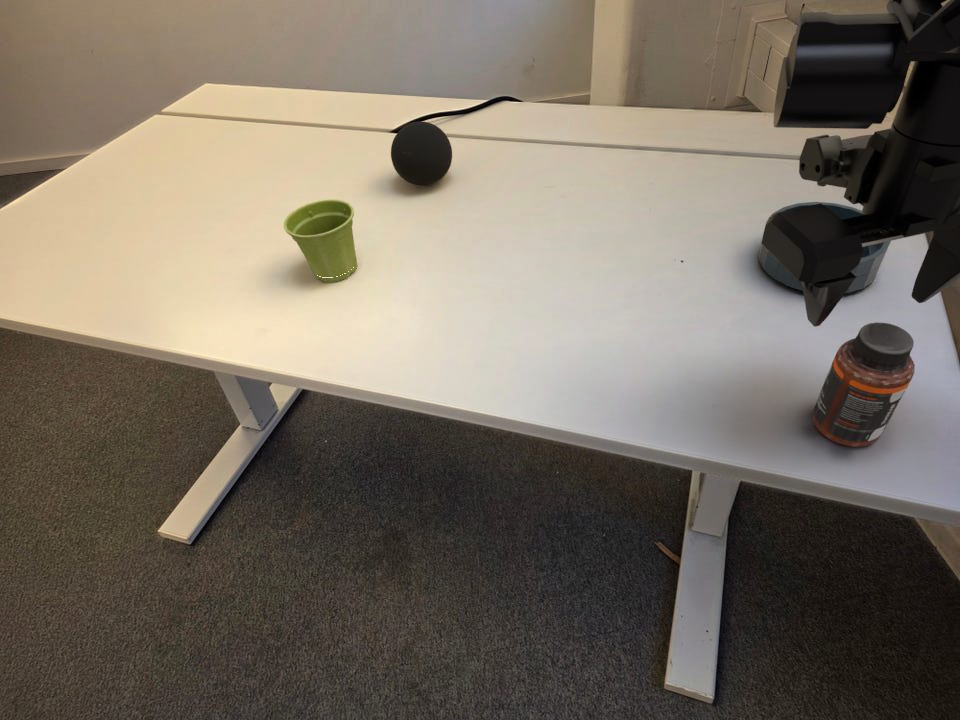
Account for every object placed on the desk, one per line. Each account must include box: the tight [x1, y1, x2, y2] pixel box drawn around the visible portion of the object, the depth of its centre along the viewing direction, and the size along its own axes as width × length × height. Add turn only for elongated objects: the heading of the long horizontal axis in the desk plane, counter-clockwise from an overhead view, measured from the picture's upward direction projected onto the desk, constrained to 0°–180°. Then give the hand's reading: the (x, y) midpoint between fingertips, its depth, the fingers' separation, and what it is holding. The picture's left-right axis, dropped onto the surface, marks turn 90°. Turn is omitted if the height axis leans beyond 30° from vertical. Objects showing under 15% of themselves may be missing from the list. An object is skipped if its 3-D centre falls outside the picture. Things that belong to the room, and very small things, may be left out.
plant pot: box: [283, 199, 358, 283], centre depth 84 cm, size 9×9×9 cm
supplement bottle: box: [812, 321, 916, 448], centre depth 54 cm, size 6×6×11 cm
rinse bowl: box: [758, 201, 892, 294], centre depth 74 cm, size 13×13×5 cm
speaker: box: [390, 120, 453, 187], centre depth 99 cm, size 10×10×10 cm
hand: (865, 311), depth 50 cm, fingers open, 9 cm apart
